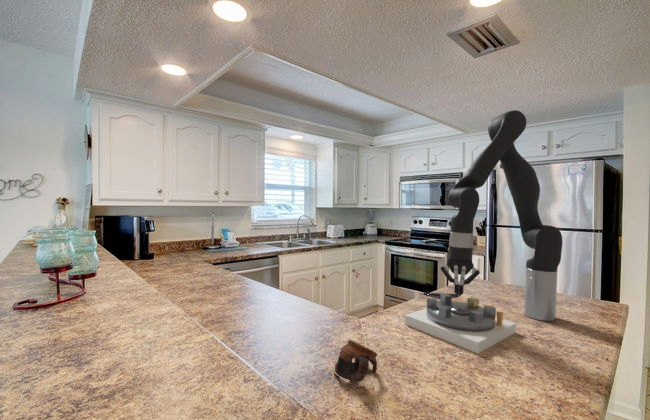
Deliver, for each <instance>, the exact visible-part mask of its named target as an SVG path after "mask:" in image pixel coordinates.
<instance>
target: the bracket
mask: <svg viewBox="0 0 650 420" xmlns="http://www.w3.org/2000/svg"><path fill="white" fill-rule="evenodd" d="M430 293H431V294H430ZM422 294H423V296H424V295H426V296H425V297H429V298H435V299H437V300H438V299H439V300H441V294H447V292H446V293H442V292H423V293H422ZM427 294H429V295H427ZM448 294H449V295H450V296H452V299H454V298H459V296H457V295H456V294H455V293H448Z"/></svg>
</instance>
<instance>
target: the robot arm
mask: <svg viewBox="0 0 650 420" xmlns="http://www.w3.org/2000/svg"><path fill="white" fill-rule="evenodd" d="M526 117H527V116H525V114H524V113H523V112H521V111H520V110H516V109H515V110H510V111H507V112H504V113H502V114H499V115H497V116H496V117H494V118H492V119H491V120H490V121H489V122H488V125H487V132H488V135H489V136H488V137H489V138H490V141H491V142H490V143H489V144H488V145H487V146H486V147H485V148H484V149H483V150H482V151H481V152H480V153H479V154H478V155H477V156H476V158H475V159H474V160H473V162H472V163H471V164H470V166H469V168H468V169H467V170H466V172H465V174H464V175H463V177H461V178H460V179H459V180H458V181H457V182H456V183H455V184H454V185H453V186H452V188H451V189H450V190H449V192H448V196H447V201H448V204H449V205H450V206H451V207H453V208H456V209H459V211H458V212H457V214H455V215H453V216H451V219H450V232H449V233H450V234H449V241H448V258H447V261H446V264H444V265H441V266H440V270H441V272H442V273H443V274H444V276H445V277H446V279H447V280H448V282H450V283H451V284H452V283H453V284H454V287H453V288H454V289H453V290H454V292H453V293H454V294H456V295H457V296H458V297H461V296H463V295H464V288H465V287H464V286H466V285H469V284H470V283H472V281H474V280H475V279H476V277H478V276H479V275H480V273H481V272H480V270H479V269H477V268H476V267H475V265H474V263H473V253H474V252H473V250H474V235H473V234H474V233H473V232H474V231H473V230H474V219H475V217H476V214H477V212H478V208H479V205H480V194H479V192H478V191H477V189H479V188H481V187H483V186H484V185H485V183H486V182H487V180H488V179H489V177H490V176H491V174H492V172H493V171H494V169H495V167H496V166H497V164H498V163H499V162H500V165H501V168H502V170H503V173H504V176H505V180H506V184H507V187H508V189H509V192H510V195H511V198H512V200H513V201H512V202H513V205H514V207H515V210H516V213H517V218H518V223H519V228H520V233H521V237H522V241H523V242H524V244H525V245H526V246H527V247H529V248H531V249H533V250H534V251H533V253H534V255H533V257H532V258H529V259H527V260H526V262H525V290H524V312H523V313H524V316H527V317H528V318H531V319H534V320H538V321H546V322H553V321H555V320H556V318H557V317H556V313H557V312H556V311H557V294H558V293H557V292H558V291H557V288H558V268H559V265H560V263H561V259H562V251H563V235H562V232H561V231H560V229H558V228H557V227H556V226H553V225H549V224H547V225H546V224H543V222H542V220H541V218H540V215H539V210H538V209H539V208H538V205H539V200H540V196H541V195H540V194H541V187H540V183H539V178H538V175H537V172H536V171H535V169H534V167H533V166H532V165H531V164H530V163H529V161H527V160H526V159H525V158H524V157H523V156H522V155H521V154H520V153H519V152H518V150H517V148H516V145H515V143H516V141H517V139H518V138H519V137H520V136H521V135H522V134H523V133H524V131H525V130H526V128H527V118H526ZM449 270H450V272H451V273H452V274H454V275H453V276H452V275H451V274H450V273H449V272H448V271H449ZM470 272H471V274H470V275H469V276H468V277H467V278H465V277H466V276H467V275H468V274H469V273H470ZM459 275H460V277H459Z"/></svg>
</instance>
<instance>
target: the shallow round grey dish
mask: <svg viewBox="0 0 650 420" xmlns="http://www.w3.org/2000/svg"><path fill="white" fill-rule="evenodd" d="M449 294H450V293H446V294H441V299H440V300H438V298H434V297H427V298H426V308H427V317H428V318H429V319H430V320H432V321H433V322H435V323H437V324H440V325H442V326H445V327H449V328H453V329H458V330H464V331H487V330H490V329H492V328H494V327H495V317H497V312H496V311H497V309H496V308H497V307H496V306H493V305H486V304H483V307H482V306H480V298H478V297H473V296H470V297H468V298H467V299H466V301H467V302H464V301H463V302H462V301H455V300H453V298H452V296H450V295H449Z"/></svg>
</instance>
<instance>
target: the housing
mask: <svg viewBox="0 0 650 420" xmlns="http://www.w3.org/2000/svg"><path fill="white" fill-rule="evenodd" d="M404 316H405V317H404V325H407V326H408V327H411V328H413V329H416V330H418V331H421V332H423V333H426V334H428V335H431V336H433V337H435V338H437V339H440V340H442V341H446V342H448V343H450V344H453V345H456V346H458V347H461V348H462V349H465V350H468V351H470V352H473V353H475V354H480V353H482V352H484V351H486V350H487V349H489V348H490V347H492V346H493V347H494V345H497V344H498V343H499V342H500V343H501V341H504V340H505V339H507V338H509V337H511V336H513V335H514V334H516V333H517V323H516V322H514V321H510V320H507V319H503V318H504V317H503V316H504V312H503V311H497V312H496V317H495V327H494V328H492V329H490V330H487V331H464V330H458V329H453V328H449V327H445V326H442V325H440V324H437V323H435V322H433V321H432V320H430V319H429V318H428V317H427V307H426V308H423V309H420V310H418V311H414V312H411V313H408V314H405V315H404Z"/></svg>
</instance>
